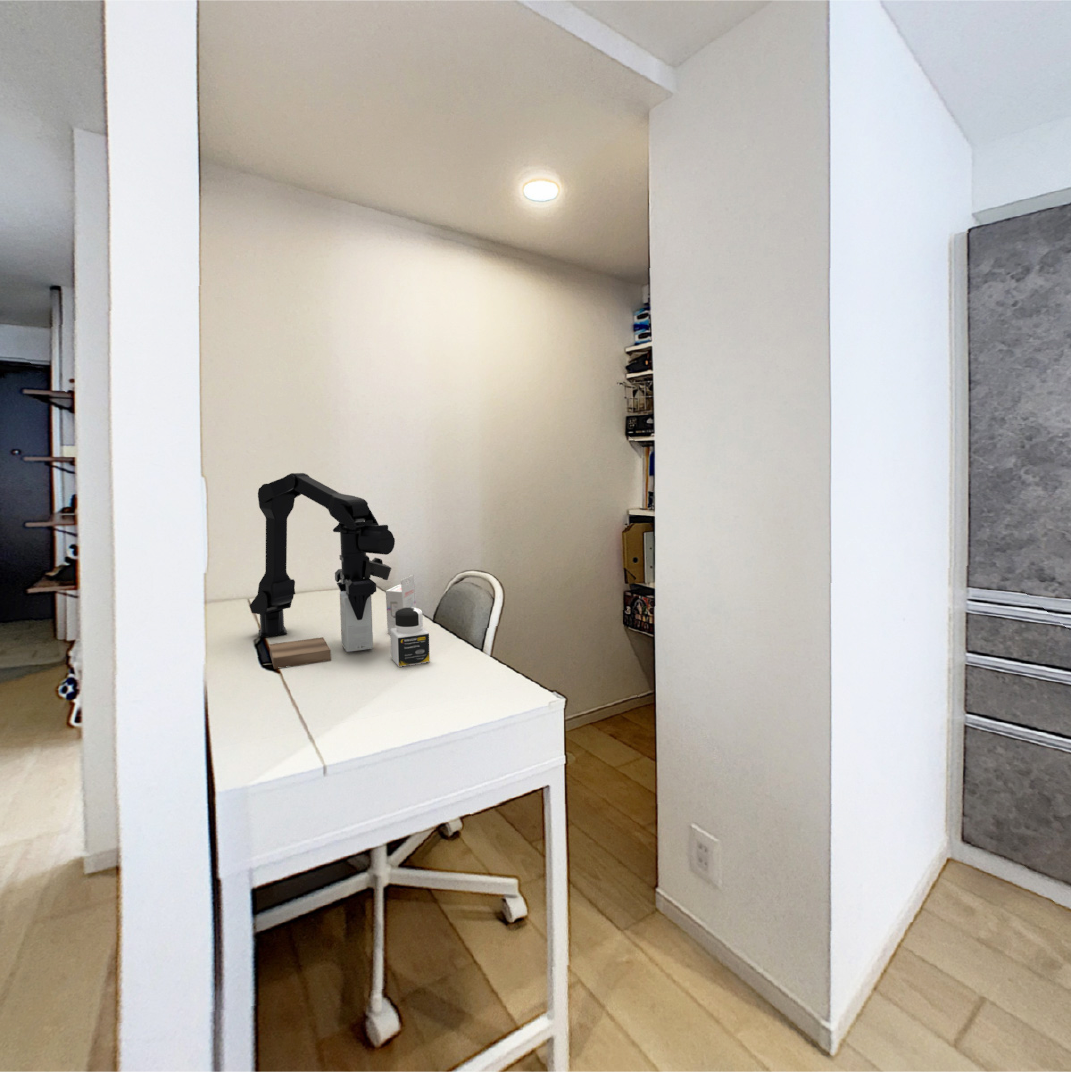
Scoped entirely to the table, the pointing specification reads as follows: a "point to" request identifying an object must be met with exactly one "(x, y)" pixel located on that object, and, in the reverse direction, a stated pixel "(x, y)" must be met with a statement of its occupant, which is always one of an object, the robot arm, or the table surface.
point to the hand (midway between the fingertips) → (356, 615)
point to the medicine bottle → (409, 638)
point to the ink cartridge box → (399, 599)
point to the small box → (355, 626)
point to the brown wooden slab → (299, 652)
